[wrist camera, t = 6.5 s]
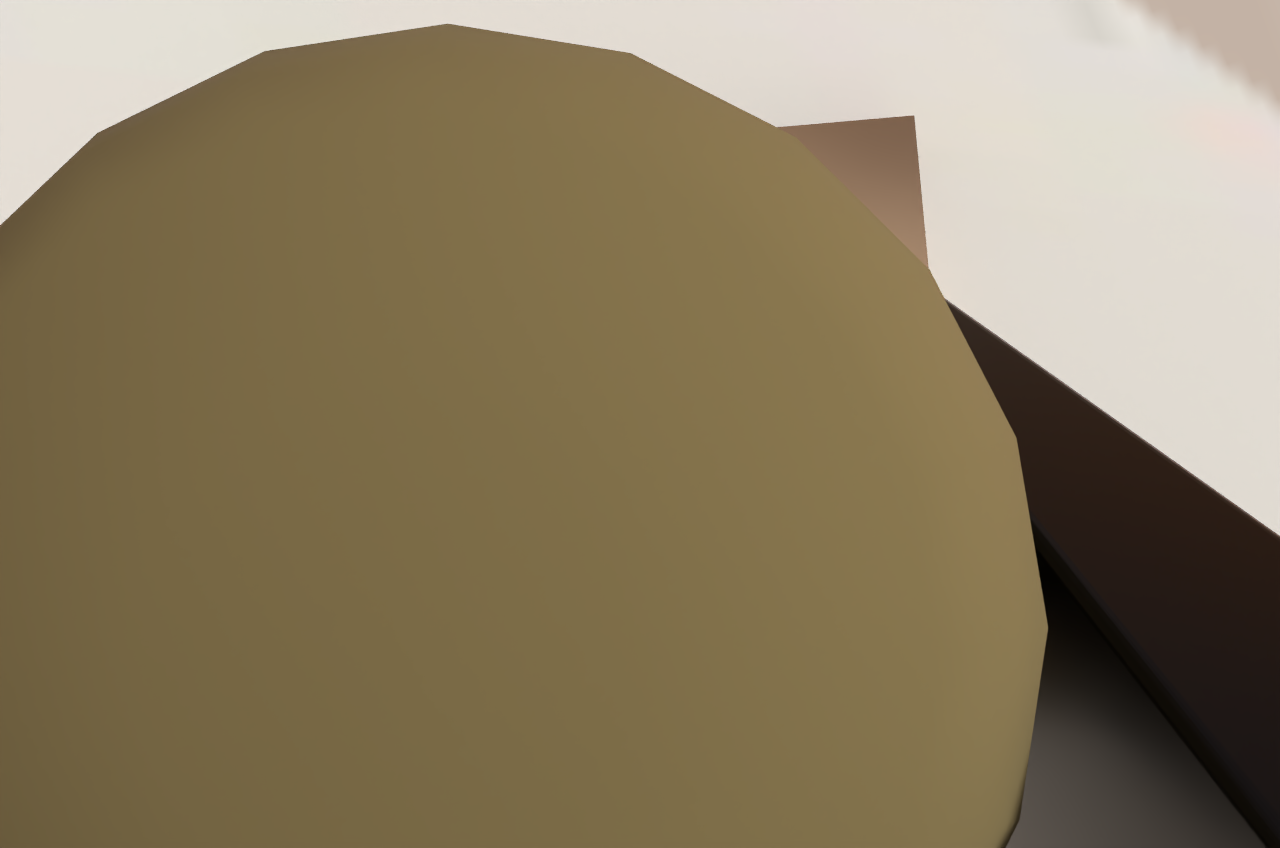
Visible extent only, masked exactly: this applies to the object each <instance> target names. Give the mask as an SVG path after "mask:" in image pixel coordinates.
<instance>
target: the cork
mask: <svg viewBox="0 0 1280 848" xmlns="http://www.w3.org/2000/svg"><path fill="white" fill-rule="evenodd" d="M1047 632H1048V624H1047V618H1046V612H1045V606H1044V600H1043V594H1042V588H1041V582H1040V576H1039V570H1038V564H1037V558H1036V552H1035V546H1034V540H1033V534H1032V528H1031V522H1030V516H1029V510H1028V504H1027V498H1026V492H1025V486H1024V480H1023V474H1022V468H1021V462H1020V456H1019V450H1018V444H1017V438H1016V436H1015V434H1014V432H1013V430H1012V428H1011V426H1010V424H1009V423H1008V421H1007V419H1006V417H1005V415H1004V413H1003V411H1002V409H1001V407H1000V405H999V403H998V401H997V399H996V397H995V395H994V394H993V392H992V390H991V388H990V386H989V384H988V382H987V380H986V378H985V376H984V374H983V372H982V370H981V368H980V366H979V365H978V363H977V361H976V359H975V357H974V355H973V353H972V351H971V349H970V347H969V345H968V343H967V341H966V339H965V338H964V336H963V334H962V332H961V330H960V328H959V326H958V324H957V322H956V320H955V318H954V316H953V314H952V312H951V310H950V309H949V307H948V305H947V303H946V301H945V299H944V297H943V295H942V293H941V291H940V289H939V287H938V285H937V283H936V281H935V280H934V278H933V276H932V274H931V272H930V270H929V269H928V268H927V267H926V266H925V265H924V264H923V263H922V262H921V261H920V260H919V259H918V258H917V257H916V256H915V255H914V254H913V253H912V252H911V251H910V250H909V249H908V248H907V247H906V246H905V245H904V244H903V243H902V242H901V241H900V240H899V239H898V238H897V237H896V236H895V235H894V234H893V233H892V232H891V231H890V230H889V229H888V228H887V227H886V226H885V225H884V224H883V223H882V222H881V221H880V220H879V219H878V218H877V217H876V216H875V215H874V214H873V213H872V212H871V211H870V210H869V209H868V208H867V207H866V206H865V205H864V204H863V203H862V202H861V201H860V200H859V199H858V198H857V197H856V196H855V195H854V194H853V193H852V192H851V191H850V190H849V189H848V188H847V187H846V186H845V185H844V184H843V183H842V182H841V181H840V180H839V179H838V178H837V177H836V176H835V175H834V174H833V173H832V172H831V171H830V170H829V169H828V168H827V167H825V166H824V165H823V164H822V163H821V162H820V161H819V160H818V159H817V158H816V157H815V156H814V155H813V154H812V153H811V152H810V151H809V150H808V149H807V148H806V147H805V146H804V145H803V144H802V143H801V142H800V141H799V140H798V139H797V138H796V137H794V136H792V135H790V134H788V133H787V132H785V131H783V130H781V129H779V128H777V127H775V126H773V125H771V124H769V123H767V122H765V121H763V120H761V119H759V118H757V117H755V116H753V115H751V114H749V113H747V112H745V111H743V110H741V109H739V108H737V107H735V106H733V105H731V104H729V103H727V102H725V101H723V100H722V99H720V98H718V97H716V96H714V95H712V94H710V93H708V92H706V91H704V90H702V89H700V88H698V87H696V86H694V85H692V84H690V83H688V82H686V81H684V80H682V79H680V78H678V77H676V76H674V75H672V74H670V73H668V72H666V71H664V70H662V69H660V68H659V67H657V66H655V65H653V64H651V63H649V62H647V61H645V60H643V59H641V58H639V57H637V56H635V55H633V54H631V53H626V52H620V51H613V50H607V49H601V48H595V47H589V46H582V45H576V44H570V43H564V42H557V41H551V40H545V39H539V38H533V37H526V36H520V35H514V34H508V33H502V32H495V31H489V30H483V29H477V28H470V27H464V26H458V25H452V24H443V25H437V26H430V27H423V28H417V29H410V30H403V31H397V32H390V33H383V34H377V35H370V36H363V37H357V38H350V39H343V40H337V41H330V42H323V43H317V44H310V45H303V46H297V47H290V48H283V49H277V50H270V51H264V52H262V53H260V54H258V55H256V56H254V57H252V58H250V59H248V60H246V61H244V62H242V63H240V64H238V65H236V66H234V67H232V68H229V69H227V70H225V71H223V72H221V73H219V74H217V75H215V76H213V77H211V78H209V79H207V80H205V81H203V82H201V83H199V84H197V85H195V86H193V87H191V88H189V89H187V90H185V91H182V92H180V93H178V94H176V95H174V96H172V97H170V98H168V99H166V100H164V101H162V102H160V103H158V104H156V105H154V106H152V107H150V108H148V109H146V110H144V111H142V112H140V113H138V114H136V115H133V116H131V117H129V118H127V119H125V120H123V121H121V122H119V123H117V124H115V125H113V126H111V127H109V128H107V129H105V130H103V131H101V132H99V133H97V134H96V135H95V136H94V137H93V138H92V139H91V140H90V141H89V142H88V143H87V144H86V145H84V146H83V147H82V148H81V149H80V150H79V151H78V152H77V153H76V154H75V155H74V156H73V157H72V158H71V159H70V160H69V161H68V162H67V163H66V164H64V165H63V166H62V167H61V168H60V169H59V170H58V171H57V172H56V173H55V174H54V175H53V176H52V177H51V178H50V179H49V180H48V181H47V182H46V183H44V184H43V185H42V186H41V187H40V188H39V189H38V190H37V191H36V192H35V193H34V194H33V195H32V196H31V197H30V198H29V199H28V200H27V201H26V202H24V203H23V204H22V205H21V206H20V207H19V208H18V209H17V210H16V211H15V212H14V213H13V214H12V215H11V216H10V217H9V218H8V219H7V220H6V221H5V222H3V223H2V224H1V225H0V848H1006V846H1007V844H1008V842H1009V840H1010V838H1011V836H1012V834H1013V832H1014V830H1015V828H1016V826H1017V824H1018V822H1019V820H1020V814H1021V807H1022V800H1023V793H1024V787H1025V780H1026V773H1027V767H1028V760H1029V753H1030V746H1031V740H1032V733H1033V726H1034V719H1035V713H1036V706H1037V699H1038V692H1039V686H1040V679H1041V672H1042V665H1043V659H1044V652H1045V645H1046V639H1047Z"/></svg>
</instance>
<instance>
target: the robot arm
mask: <svg viewBox="0 0 1280 848" xmlns="http://www.w3.org/2000/svg"><path fill="white" fill-rule="evenodd" d="M944 299H945V298H944ZM945 301H946V303H947V305H948V307H949V309H950V310H951V312H952V314H953V316H954V318H955V320H956V322H957V324H958V326H959V328H960V330H961V332H962V334H963V336H964V338H965V339H966V341H967V343H968V345H969V347H970V349H971V351H972V353H973V355H974V357H975V359H976V361H977V363H978V365H979V366H980V368H981V370H982V372H983V374H984V376H985V378H986V380H987V382H988V384H989V386H990V388H991V390H992V392H993V394H994V395H995V397H996V399H997V401H998V403H999V405H1000V407H1001V409H1002V411H1003V413H1004V415H1005V417H1006V419H1007V421H1008V423H1009V424H1010V426H1011V428H1012V430H1013V432H1014V434H1015V436H1016V438H1017V444H1018V450H1019V456H1020V462H1021V468H1022V474H1023V480H1024V486H1025V492H1026V498H1027V504H1028V510H1029V516H1030V522H1031V528H1032V534H1033V540H1034V546H1035V552H1036V558H1037V564H1038V570H1039V576H1040V582H1041V588H1042V594H1043V600H1044V606H1045V612H1046V618H1047V624H1048V632H1047V639H1046V645H1045V652H1044V659H1043V665H1042V672H1041V679H1040V686H1039V692H1038V699H1037V706H1036V713H1035V719H1034V726H1033V733H1032V740H1031V746H1030V753H1029V760H1028V767H1027V773H1026V780H1025V787H1024V793H1023V800H1022V807H1021V814H1020V820H1019V822H1018V824H1017V826H1016V828H1015V830H1014V832H1013V834H1012V836H1011V838H1010V840H1009V842H1008V844H1007V846H1006V848H1280V536H1279V535H1278V534H1276V533H1275V532H1273V531H1272V530H1271V529H1269V528H1268V527H1266V526H1265V525H1264V524H1262V523H1261V522H1259V521H1258V520H1257V519H1255V518H1254V517H1252V516H1251V515H1250V514H1248V513H1247V512H1245V511H1244V510H1242V509H1241V508H1240V507H1238V506H1237V505H1235V504H1234V503H1233V502H1231V501H1230V500H1228V499H1227V498H1226V497H1224V496H1223V495H1221V494H1220V493H1218V492H1217V491H1216V490H1214V489H1213V488H1211V487H1210V486H1209V485H1207V484H1206V483H1204V482H1203V481H1202V480H1200V479H1199V478H1197V477H1196V476H1194V475H1193V474H1192V473H1190V472H1189V471H1187V470H1186V469H1185V468H1183V467H1182V466H1180V465H1179V464H1178V463H1176V462H1175V461H1173V460H1172V459H1171V458H1169V457H1168V456H1166V455H1165V454H1163V453H1162V452H1161V451H1159V450H1158V449H1156V448H1155V447H1154V446H1152V445H1151V444H1149V443H1148V442H1147V441H1145V440H1144V439H1142V438H1141V437H1139V436H1138V435H1137V434H1135V433H1134V432H1132V431H1131V430H1130V429H1128V428H1127V427H1125V426H1124V425H1123V424H1121V423H1120V422H1118V421H1117V420H1115V419H1114V418H1113V417H1111V416H1110V415H1108V414H1107V413H1106V412H1104V411H1103V410H1101V409H1100V408H1099V407H1097V406H1096V405H1094V404H1093V403H1092V402H1090V401H1089V400H1087V399H1086V398H1084V397H1083V396H1082V395H1080V394H1079V393H1077V392H1076V391H1075V390H1073V389H1072V388H1070V387H1069V386H1068V385H1066V384H1065V383H1063V382H1062V381H1060V380H1059V379H1058V378H1056V377H1055V376H1053V375H1052V374H1051V373H1049V372H1048V371H1046V370H1045V369H1044V368H1042V367H1041V366H1039V365H1038V364H1036V363H1035V362H1034V361H1032V360H1031V359H1029V358H1028V357H1027V356H1025V355H1024V354H1022V353H1021V352H1020V351H1018V350H1017V349H1015V348H1014V347H1013V346H1011V345H1010V344H1008V343H1007V342H1005V341H1004V340H1003V339H1001V338H1000V337H998V336H997V335H996V334H994V333H993V332H991V331H990V330H989V329H987V328H986V327H984V326H983V325H981V324H980V323H979V322H977V321H976V320H974V319H973V318H972V317H970V316H969V315H967V314H966V313H965V312H963V311H962V310H960V309H959V308H957V307H956V306H955V305H953V304H952V303H950V302H949V301H948V300H946V299H945Z"/></svg>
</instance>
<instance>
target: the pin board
mask: <svg viewBox="0 0 1280 848" xmlns="http://www.w3.org/2000/svg"><path fill="white" fill-rule="evenodd" d="M777 128H779V129H781V130H783V131H785V132H787V133H788V134H790V135H792V136H794V137H796V138H797V139H798V140H799V141H800V142H801V143H802V144H803V145H804V146H805V147H806V148H807V149H808V150H809V151H810V152H811V153H812V154H813V155H814V156H815V157H816V158H817V159H818V160H819V161H820V162H821V163H822V164H823V165H824V166H825V167H827V168H828V169H829V170H830V171H831V172H832V173H833V174H834V175H835V176H836V177H837V178H838V179H839V180H840V181H841V182H842V183H843V184H844V185H845V186H846V187H847V188H848V189H849V190H850V191H851V192H852V193H853V194H854V195H855V196H856V197H857V198H858V199H859V200H860V201H861V202H862V203H863V204H864V205H865V206H866V207H867V208H868V209H869V210H870V211H871V212H872V213H873V214H874V215H875V216H876V217H877V218H878V219H879V220H880V221H881V222H882V223H883V224H884V225H885V226H886V227H887V228H888V229H889V230H890V231H891V232H892V233H893V234H894V235H895V236H896V237H897V238H898V239H899V240H900V241H901V242H902V243H903V244H904V245H905V246H906V247H907V248H908V249H909V250H910V251H911V252H912V253H913V254H914V255H915V256H916V257H917V258H918V259H919V260H920V261H921V262H922V263H923V264H924V265H925V266H926V267H927V268H928V258H927V248H926V237H925V226H924V216H923V205H922V195H921V184H920V173H919V163H918V152H917V142H916V131H915V120H914V116H903V117H892V118H880V119H869V120H857V121H846V122H834V123H822V124H811V125H799V126H788V127H777Z"/></svg>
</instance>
